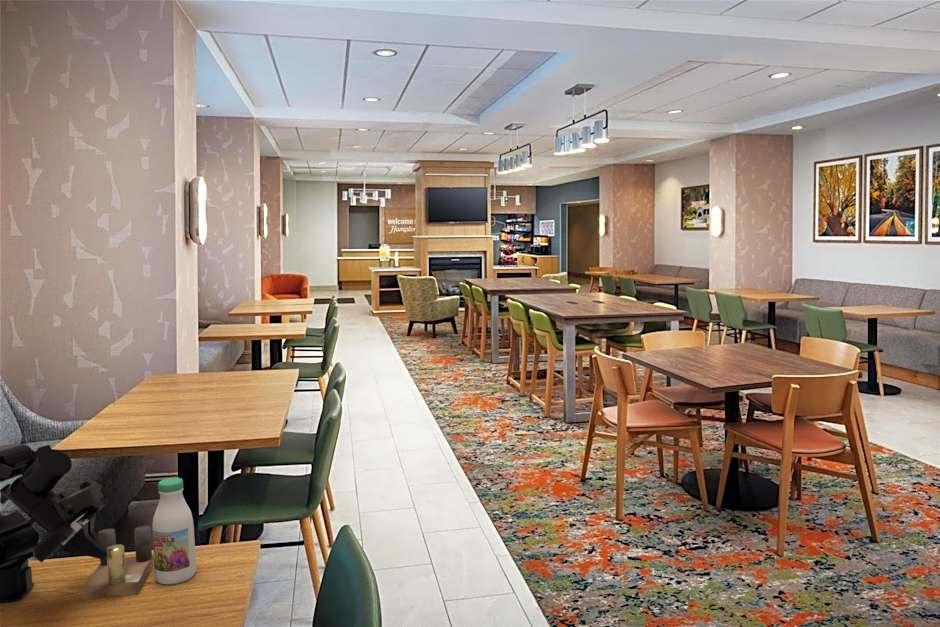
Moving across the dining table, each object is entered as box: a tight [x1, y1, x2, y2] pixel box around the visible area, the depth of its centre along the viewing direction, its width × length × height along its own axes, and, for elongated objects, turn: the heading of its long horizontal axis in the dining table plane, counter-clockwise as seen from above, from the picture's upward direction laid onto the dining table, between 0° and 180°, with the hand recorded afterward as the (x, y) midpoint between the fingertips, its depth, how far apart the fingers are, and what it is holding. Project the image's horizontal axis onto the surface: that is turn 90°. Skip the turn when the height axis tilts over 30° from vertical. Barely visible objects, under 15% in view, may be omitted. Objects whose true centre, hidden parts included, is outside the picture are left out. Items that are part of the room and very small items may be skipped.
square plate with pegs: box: [82, 525, 154, 600], centre depth 140 cm, size 10×12×9 cm
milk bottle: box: [151, 477, 197, 585], centre depth 142 cm, size 8×8×20 cm
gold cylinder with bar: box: [106, 543, 126, 584], centre depth 136 cm, size 6×3×6 cm, turn 22°
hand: (105, 557), depth 134 cm, fingers closed, pressing on gold cylinder with bar
